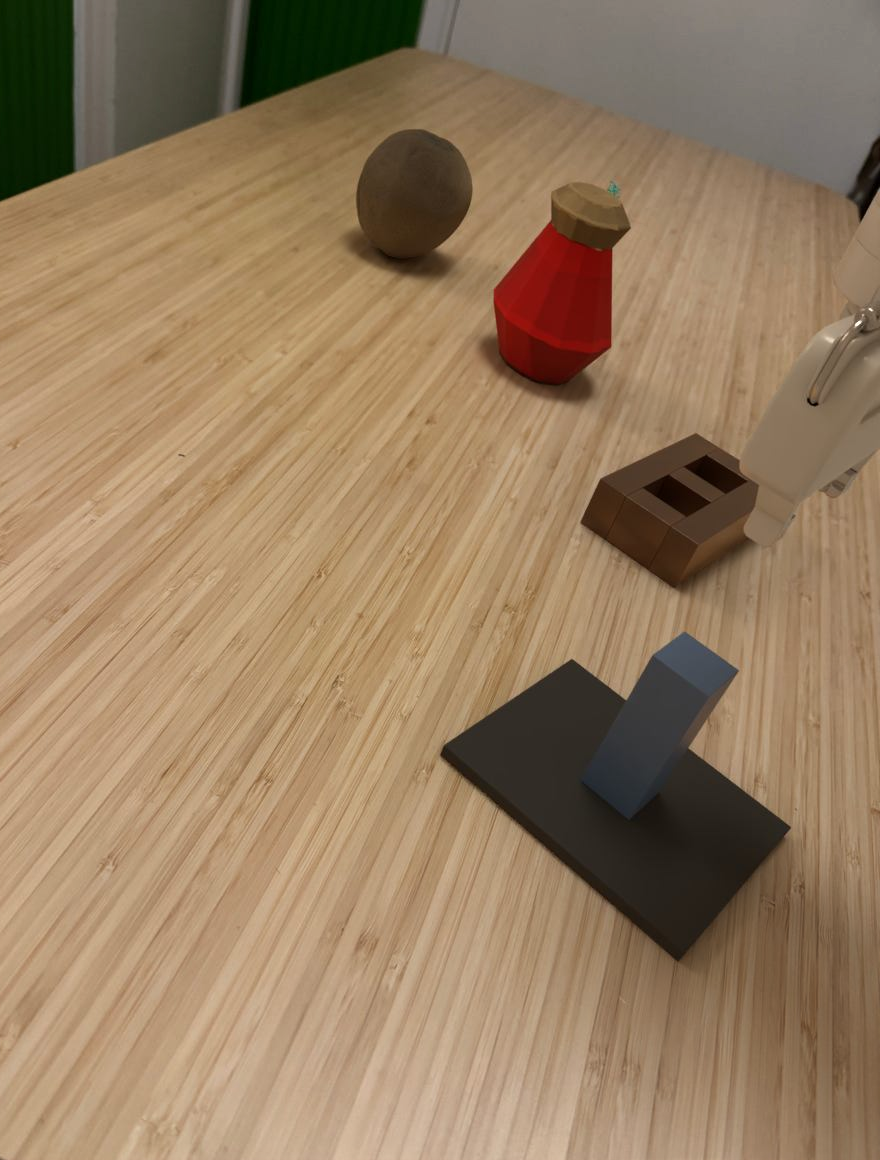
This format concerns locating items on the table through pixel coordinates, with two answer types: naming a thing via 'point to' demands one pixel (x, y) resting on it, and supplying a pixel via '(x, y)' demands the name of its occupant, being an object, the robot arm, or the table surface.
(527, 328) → the bottle
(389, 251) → the cantaloupe
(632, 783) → the peg
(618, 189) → the anatomy model
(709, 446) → the peg block
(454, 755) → the mat
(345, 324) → the table surface
